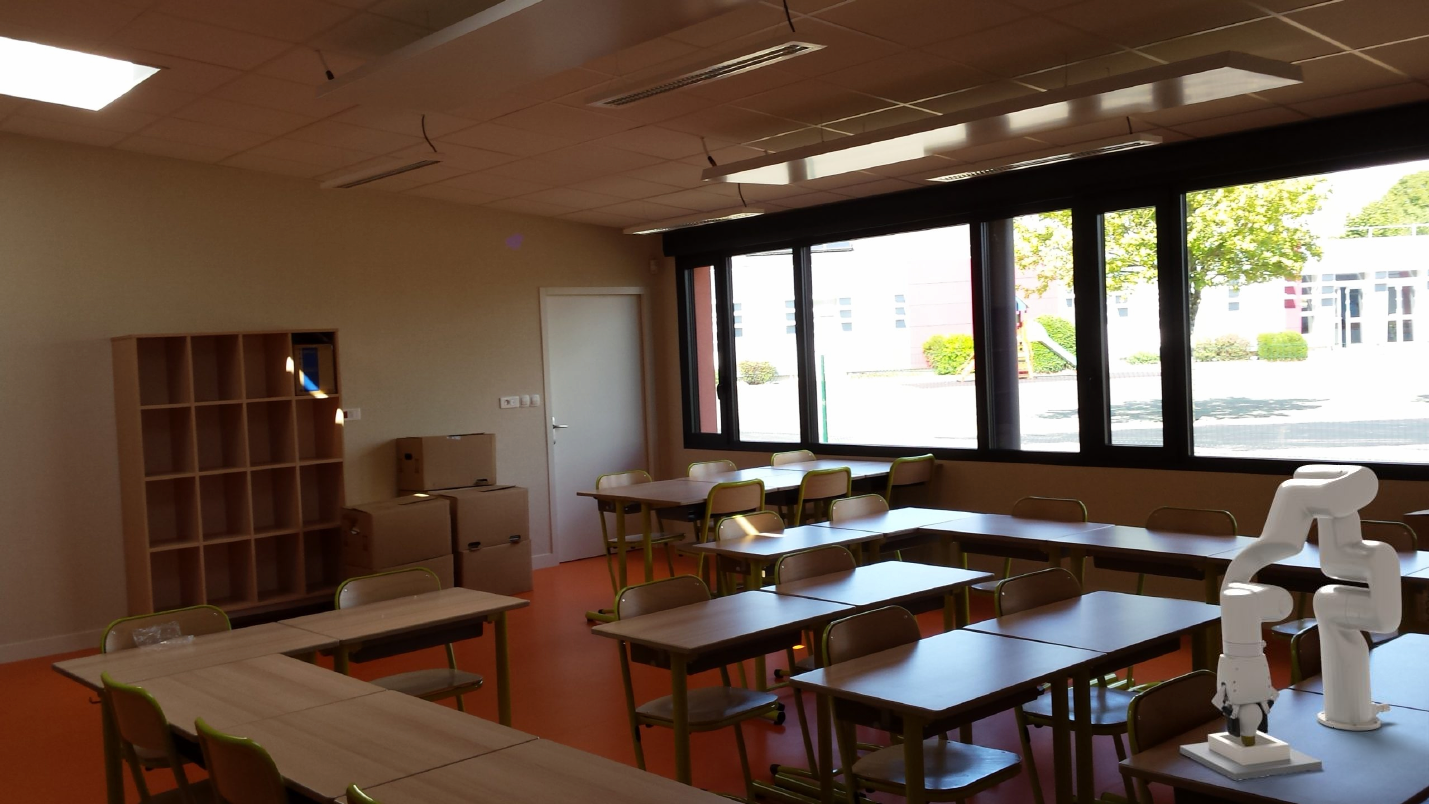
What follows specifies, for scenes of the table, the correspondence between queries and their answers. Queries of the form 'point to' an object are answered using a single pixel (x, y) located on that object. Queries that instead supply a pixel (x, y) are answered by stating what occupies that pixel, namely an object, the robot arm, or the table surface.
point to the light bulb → (1249, 722)
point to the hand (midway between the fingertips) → (1247, 732)
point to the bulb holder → (1249, 756)
